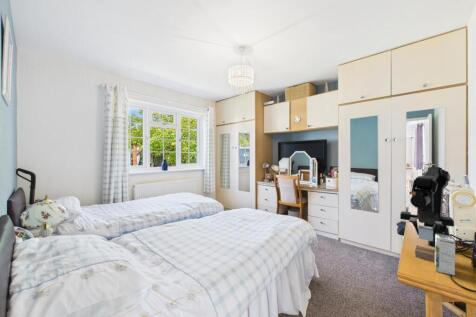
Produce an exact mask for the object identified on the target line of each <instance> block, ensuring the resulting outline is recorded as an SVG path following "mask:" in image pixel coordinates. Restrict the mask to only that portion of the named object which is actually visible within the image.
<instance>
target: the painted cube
mask: <svg viewBox="0 0 476 317" xmlns="http://www.w3.org/2000/svg"><path fill="white" fill-rule="evenodd" d="M418 230H419V235H418V240H424V241H433V228H432V227H427V226H424V225H421V224H418Z"/></svg>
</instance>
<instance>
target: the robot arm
mask: <svg viewBox="0 0 476 317" xmlns="http://www.w3.org/2000/svg"><path fill="white" fill-rule="evenodd" d="M450 181H451V175H450V173H449V171H447V170H445V169H443V168H442V167H440V166H430V167H429V166H428V168H427V170H426V171H425V173H424V174H423V175H419V176H417V177H415V179H414V180H413V182H412V187H411V192H412V193H415V194H414V195H412V196H411V197H410V205H411V206H413V207H415V208H417V211H416V214H413V213H412V212H410V211H404V210H402V211H400V213H399V214H400V218H399V219H400V220H404V221H408V222H409V223H411V224H412V225H413V226H414V230H415V232H416V234H417V236H419V224H418V223H420V224H423V226H427V227H432V228H433V241H429V240H427V243H428V244H427V245H428V246H429V247H435V234H441V235H447V236H450V230H449V228H448V227H455V221H454V219H453V217H451V216H446V215H445V216H444V215H443V203H444V202H443V201H444V189H445V188H447V186H449V182H450Z"/></svg>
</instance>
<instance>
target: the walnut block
mask: <svg viewBox="0 0 476 317" xmlns="http://www.w3.org/2000/svg"><path fill="white" fill-rule="evenodd" d="M414 251H415V252H414V255H415V256H414V257H415V258H418V257H419V258H418V259H422V258H423V260H426V261H429V262H434V263H435V248H429V247H426V246H421V245H416V248H415V250H414Z"/></svg>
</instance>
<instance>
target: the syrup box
mask: <svg viewBox="0 0 476 317" xmlns="http://www.w3.org/2000/svg"><path fill="white" fill-rule="evenodd" d="M434 249H435V262H434V267H435V271H436V272H439V273H441V274H447V275H451V276H456V240H455V238H454V237H453V236H450V235H449V236H447V235H441V234H435V246H434Z"/></svg>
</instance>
